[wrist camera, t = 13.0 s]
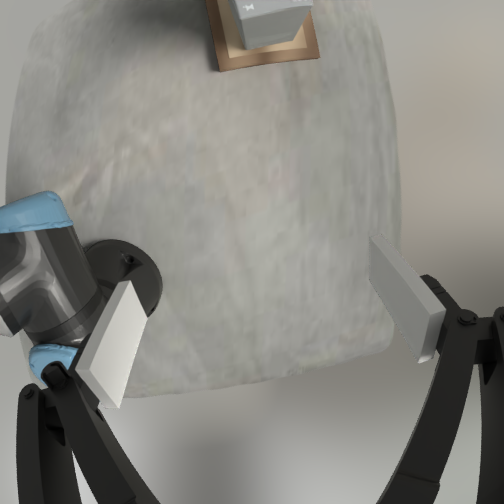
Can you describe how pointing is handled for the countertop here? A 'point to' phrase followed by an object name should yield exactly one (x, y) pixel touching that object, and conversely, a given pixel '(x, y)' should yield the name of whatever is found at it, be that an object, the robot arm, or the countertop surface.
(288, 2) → the skincare box
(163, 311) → the countertop surface
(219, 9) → the tan flat square board
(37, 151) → the countertop surface
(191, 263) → the countertop surface
